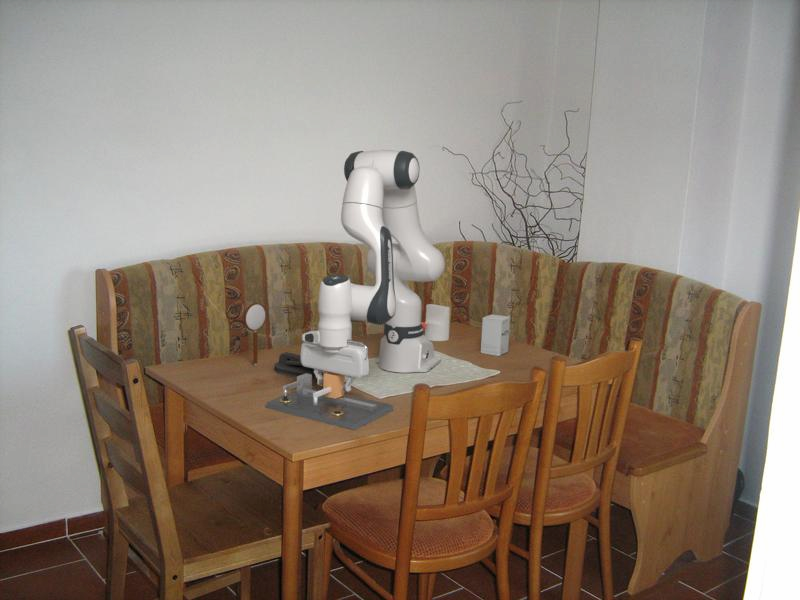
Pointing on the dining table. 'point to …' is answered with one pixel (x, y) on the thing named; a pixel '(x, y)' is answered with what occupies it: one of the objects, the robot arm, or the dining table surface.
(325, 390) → the leg
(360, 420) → the plate
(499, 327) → the supplement box
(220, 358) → the dining table surface
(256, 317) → the magnifying glass
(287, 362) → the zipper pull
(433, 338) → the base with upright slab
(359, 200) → the robot arm
